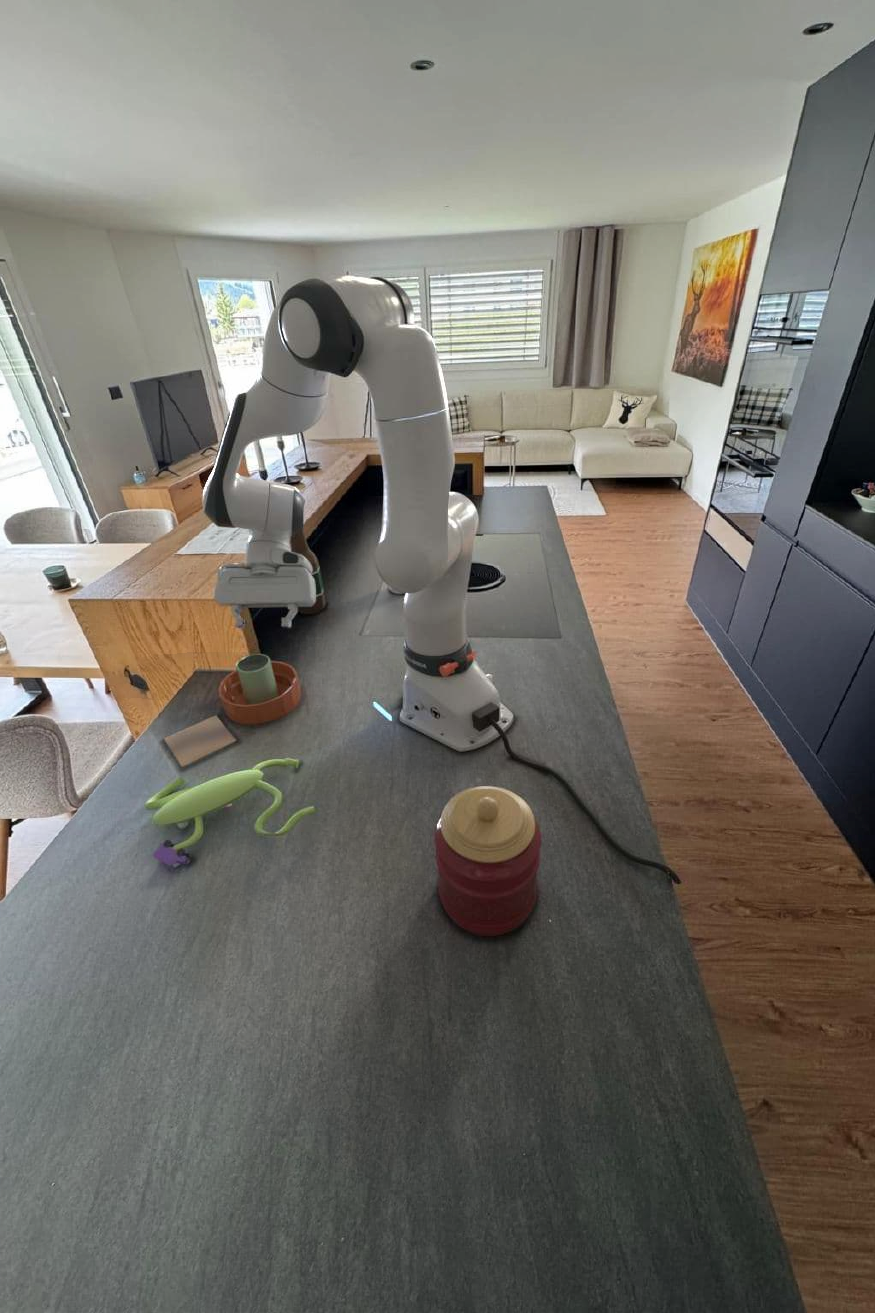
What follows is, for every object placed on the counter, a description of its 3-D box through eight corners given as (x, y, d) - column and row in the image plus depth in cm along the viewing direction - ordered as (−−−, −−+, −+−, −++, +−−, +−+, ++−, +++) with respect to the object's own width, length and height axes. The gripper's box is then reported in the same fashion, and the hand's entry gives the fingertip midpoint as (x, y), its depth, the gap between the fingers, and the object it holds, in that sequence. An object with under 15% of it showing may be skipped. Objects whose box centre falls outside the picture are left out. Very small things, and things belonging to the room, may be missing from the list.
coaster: (237, 743, 102) (236, 740, 101) (182, 769, 96) (181, 767, 96) (216, 717, 108) (215, 715, 108) (164, 741, 103) (163, 738, 103)
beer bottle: (290, 612, 143) (270, 522, 130) (307, 599, 149) (290, 511, 136) (316, 617, 140) (298, 525, 127) (332, 603, 146) (317, 514, 133)
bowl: (315, 703, 110) (311, 683, 108) (244, 737, 103) (237, 717, 100) (281, 672, 120) (276, 652, 118) (213, 701, 113) (206, 681, 110)
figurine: (319, 848, 81) (313, 823, 78) (126, 885, 78) (112, 860, 75) (317, 761, 97) (311, 737, 93) (156, 789, 93) (145, 764, 90)
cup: (285, 700, 111) (275, 662, 106) (255, 714, 107) (244, 676, 102) (271, 686, 115) (261, 649, 110) (241, 699, 112) (230, 662, 107)
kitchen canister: (476, 836, 82) (475, 747, 72) (554, 884, 75) (564, 792, 65) (418, 900, 74) (408, 809, 64) (500, 960, 67) (503, 869, 57)
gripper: (211, 557, 112) (205, 624, 109) (311, 555, 110) (307, 622, 108) (225, 568, 118) (220, 631, 115) (320, 567, 116) (316, 630, 114)
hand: (263, 627), depth 111 cm, fingers open, 8 cm apart
